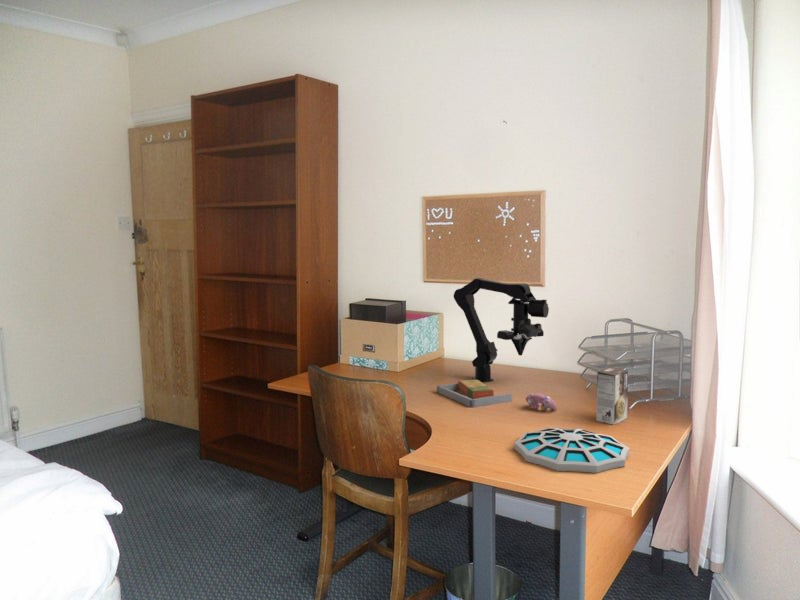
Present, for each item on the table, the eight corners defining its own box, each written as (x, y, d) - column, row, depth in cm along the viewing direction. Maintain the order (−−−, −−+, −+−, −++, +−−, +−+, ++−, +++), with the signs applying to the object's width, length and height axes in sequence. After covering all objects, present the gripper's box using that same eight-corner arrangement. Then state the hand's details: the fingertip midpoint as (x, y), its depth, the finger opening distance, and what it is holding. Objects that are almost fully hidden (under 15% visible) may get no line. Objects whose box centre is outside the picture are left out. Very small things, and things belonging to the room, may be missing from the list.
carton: (478, 389, 238) (478, 378, 237) (494, 400, 222) (494, 389, 222) (457, 391, 236) (457, 380, 235) (472, 402, 220) (472, 390, 220)
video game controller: (526, 411, 212) (522, 395, 209) (533, 403, 215) (528, 387, 212) (553, 417, 206) (548, 400, 203) (558, 408, 208) (554, 392, 205)
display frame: (436, 392, 233) (436, 385, 232) (474, 386, 241) (474, 380, 240) (471, 407, 212) (471, 400, 212) (511, 400, 220) (511, 394, 220)
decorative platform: (493, 453, 169) (493, 435, 169) (550, 428, 190) (550, 413, 189) (596, 484, 148) (597, 464, 147) (649, 453, 168) (649, 435, 167)
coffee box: (608, 414, 202) (610, 366, 201) (627, 418, 198) (629, 369, 196) (595, 420, 196) (596, 371, 194) (614, 425, 191) (615, 374, 190)
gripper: (514, 320, 228) (513, 361, 230) (553, 316, 236) (552, 356, 238) (496, 316, 238) (496, 356, 240) (534, 313, 246) (533, 351, 248)
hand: (520, 355), depth 241 cm, fingers closed
